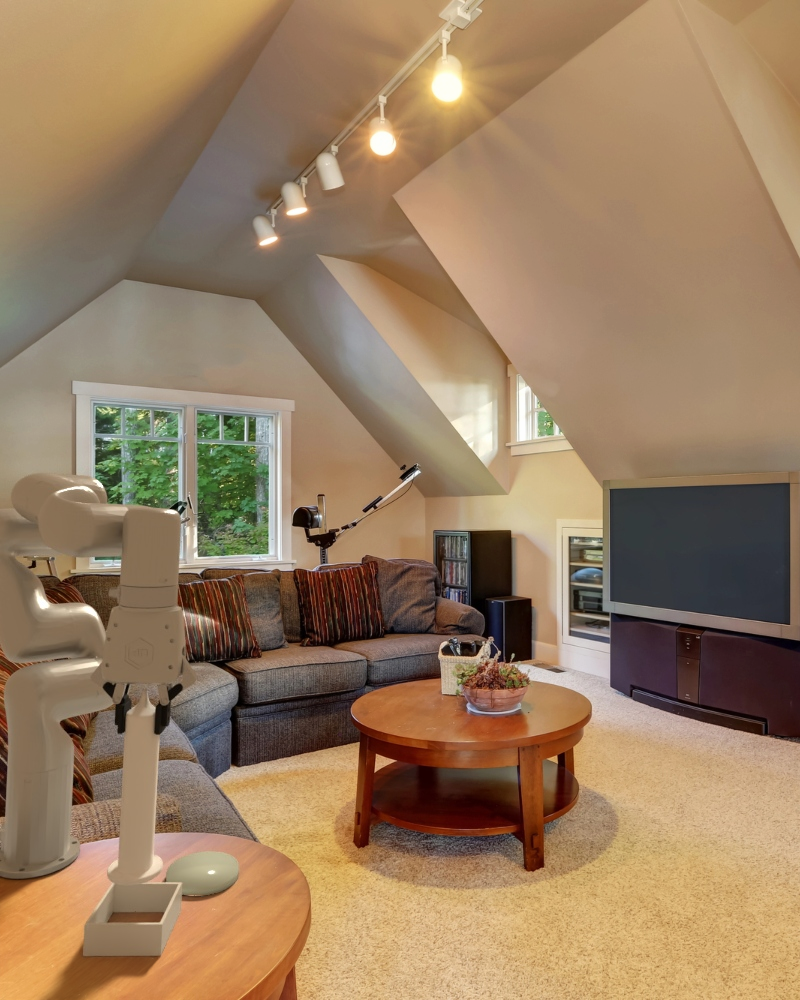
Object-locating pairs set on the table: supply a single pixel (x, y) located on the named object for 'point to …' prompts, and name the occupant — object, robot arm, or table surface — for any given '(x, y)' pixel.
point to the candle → (138, 799)
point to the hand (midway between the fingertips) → (142, 729)
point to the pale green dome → (204, 872)
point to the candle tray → (133, 935)
